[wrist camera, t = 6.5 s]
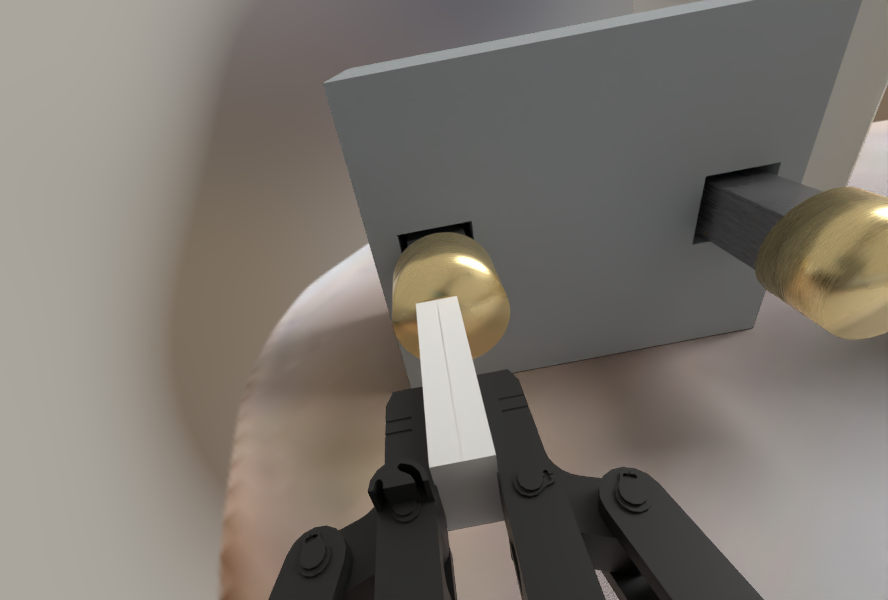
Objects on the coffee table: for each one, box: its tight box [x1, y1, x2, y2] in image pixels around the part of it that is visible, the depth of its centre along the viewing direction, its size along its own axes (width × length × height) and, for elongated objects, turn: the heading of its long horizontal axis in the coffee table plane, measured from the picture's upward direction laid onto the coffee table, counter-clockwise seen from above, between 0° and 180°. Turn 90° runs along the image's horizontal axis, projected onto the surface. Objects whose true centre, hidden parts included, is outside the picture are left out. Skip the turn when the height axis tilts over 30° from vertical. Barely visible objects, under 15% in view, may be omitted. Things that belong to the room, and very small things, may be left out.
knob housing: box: [323, 0, 862, 389], centre depth 23 cm, size 20×9×16 cm, turn 95°
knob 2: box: [695, 167, 888, 340], centre depth 16 cm, size 4×9×4 cm, turn 5°
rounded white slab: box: [632, 0, 888, 191], centre depth 33 cm, size 29×8×18 cm, turn 173°
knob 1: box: [392, 223, 510, 359], centre depth 19 cm, size 4×9×4 cm, turn 5°
